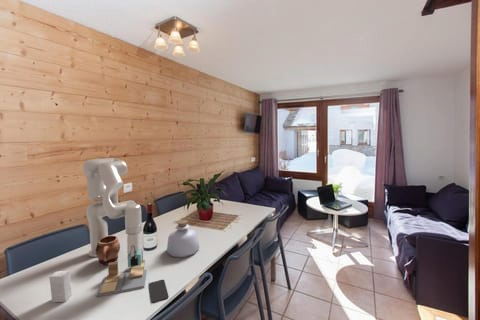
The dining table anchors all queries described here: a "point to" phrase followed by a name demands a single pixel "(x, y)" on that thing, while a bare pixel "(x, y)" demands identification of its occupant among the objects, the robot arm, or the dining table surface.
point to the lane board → (122, 284)
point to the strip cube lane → (137, 269)
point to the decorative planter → (107, 249)
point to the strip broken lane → (115, 278)
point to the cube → (139, 255)
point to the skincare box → (60, 286)
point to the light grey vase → (182, 241)
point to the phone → (158, 291)
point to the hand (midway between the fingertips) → (135, 261)
